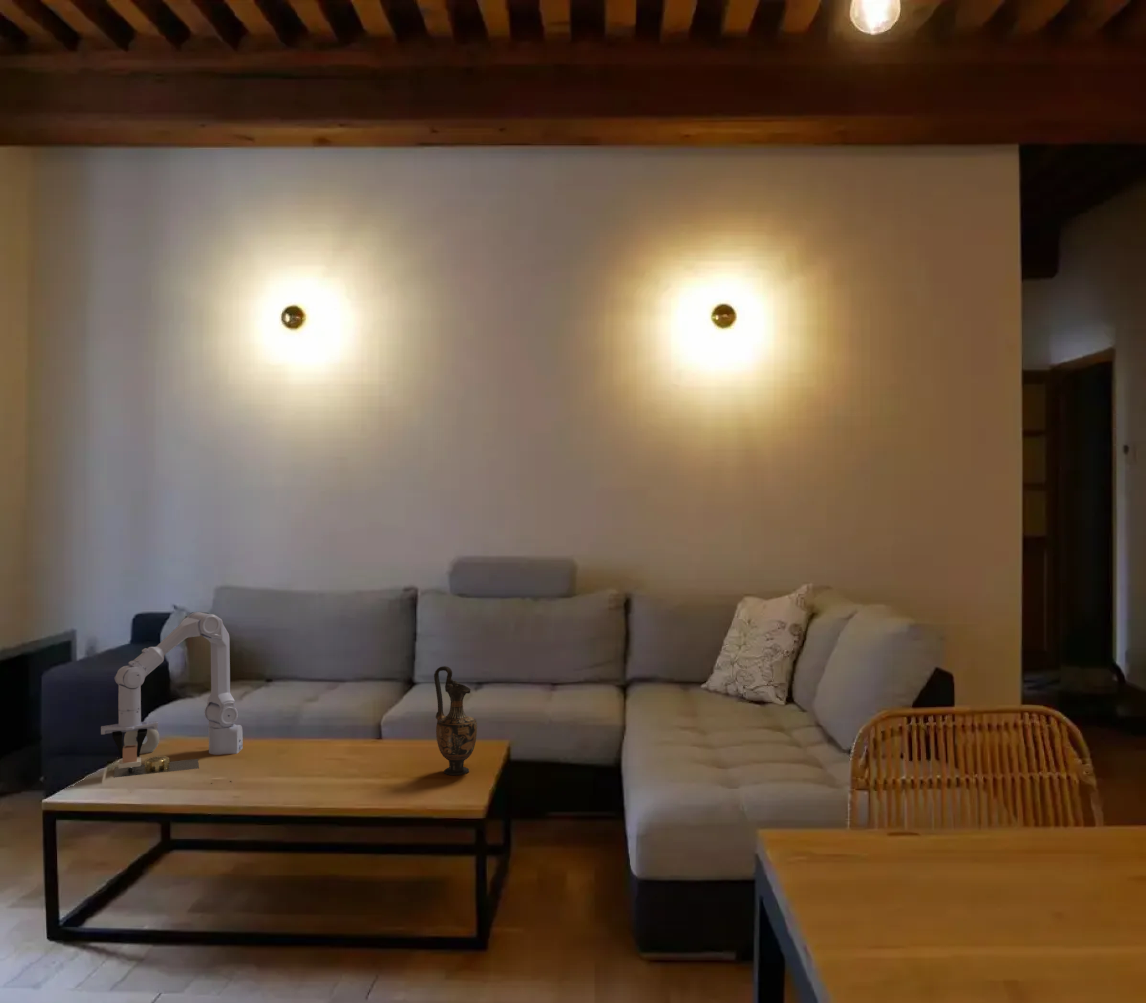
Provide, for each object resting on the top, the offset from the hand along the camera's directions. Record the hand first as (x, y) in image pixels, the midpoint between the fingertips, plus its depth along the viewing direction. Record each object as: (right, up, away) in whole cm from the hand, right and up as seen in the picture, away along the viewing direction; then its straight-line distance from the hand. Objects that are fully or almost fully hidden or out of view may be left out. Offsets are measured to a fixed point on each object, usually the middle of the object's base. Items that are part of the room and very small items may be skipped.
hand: (129, 756), depth 267 cm
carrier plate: (+6, -5, +3) cm, 9 cm away
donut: (-5, -5, +19) cm, 20 cm away
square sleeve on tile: (0, -2, 0) cm, 2 cm away
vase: (+92, -5, +4) cm, 92 cm away
